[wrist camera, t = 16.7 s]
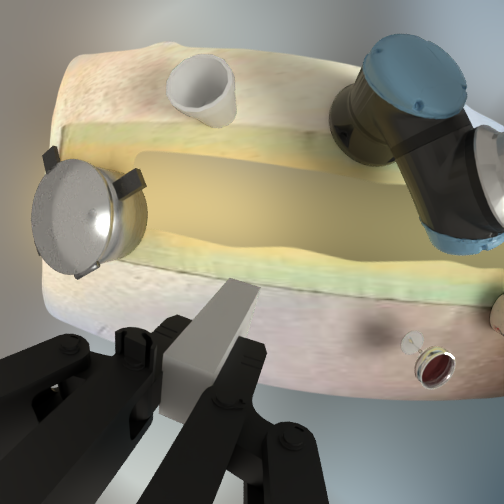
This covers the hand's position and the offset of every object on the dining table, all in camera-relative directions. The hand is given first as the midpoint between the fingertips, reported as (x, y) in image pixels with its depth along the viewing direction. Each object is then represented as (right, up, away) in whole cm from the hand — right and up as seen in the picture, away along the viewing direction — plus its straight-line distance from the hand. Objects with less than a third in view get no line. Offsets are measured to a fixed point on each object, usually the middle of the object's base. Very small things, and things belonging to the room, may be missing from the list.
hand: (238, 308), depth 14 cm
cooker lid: (-29, +10, +26) cm, 40 cm away
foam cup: (-5, +27, +34) cm, 43 cm away
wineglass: (+31, -14, +34) cm, 48 cm away
